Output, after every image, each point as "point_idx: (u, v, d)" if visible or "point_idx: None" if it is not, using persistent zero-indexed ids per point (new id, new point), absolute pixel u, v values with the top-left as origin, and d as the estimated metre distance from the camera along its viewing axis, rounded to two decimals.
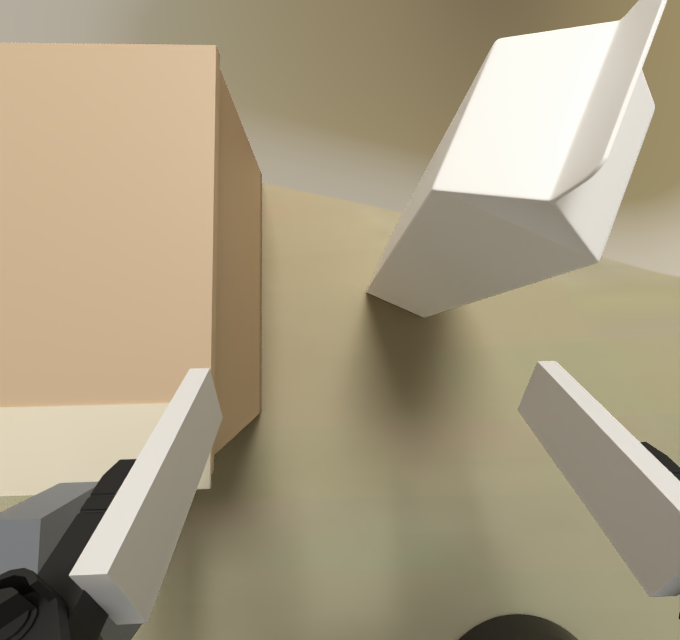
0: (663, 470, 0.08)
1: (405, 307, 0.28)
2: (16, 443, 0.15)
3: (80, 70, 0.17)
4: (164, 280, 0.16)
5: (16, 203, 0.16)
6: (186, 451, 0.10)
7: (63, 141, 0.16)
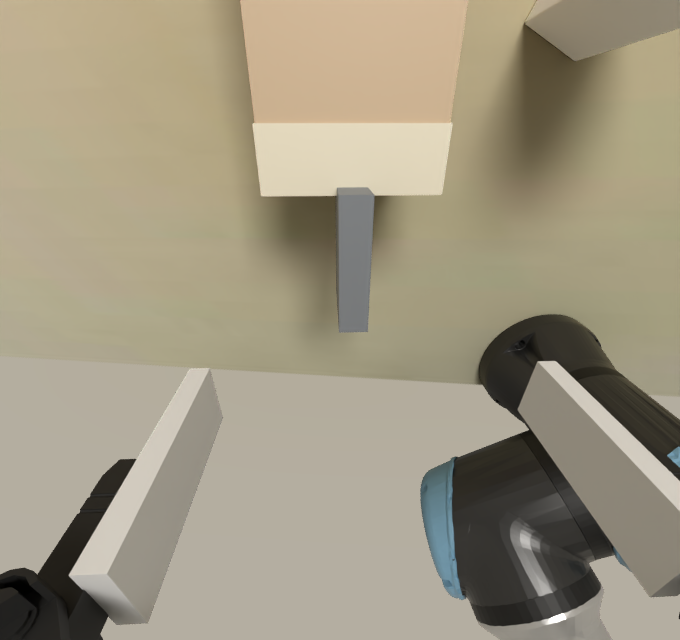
0: (663, 470, 0.08)
1: (564, 45, 0.26)
2: (300, 155, 0.19)
3: None
4: None
5: None
6: (186, 451, 0.10)
7: None
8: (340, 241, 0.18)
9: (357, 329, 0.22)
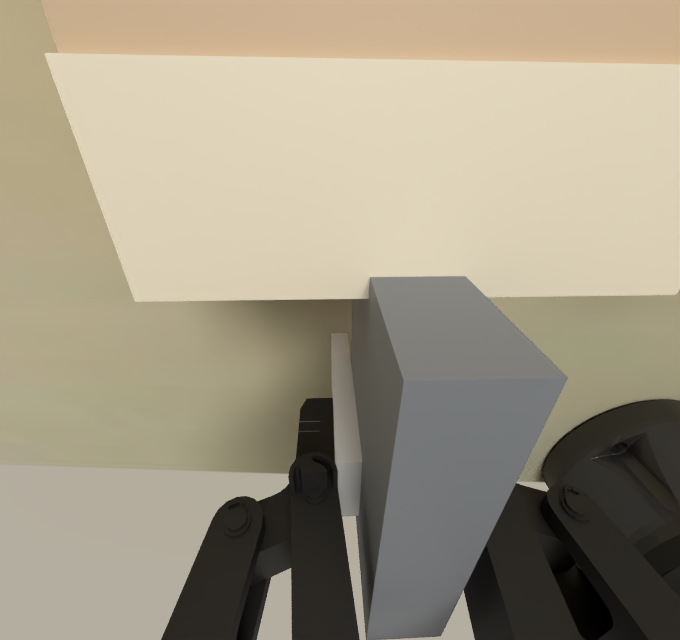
0: None
1: None
2: (249, 180, 0.06)
3: None
4: None
5: None
6: None
7: None
8: (392, 505, 0.05)
9: (415, 634, 0.08)
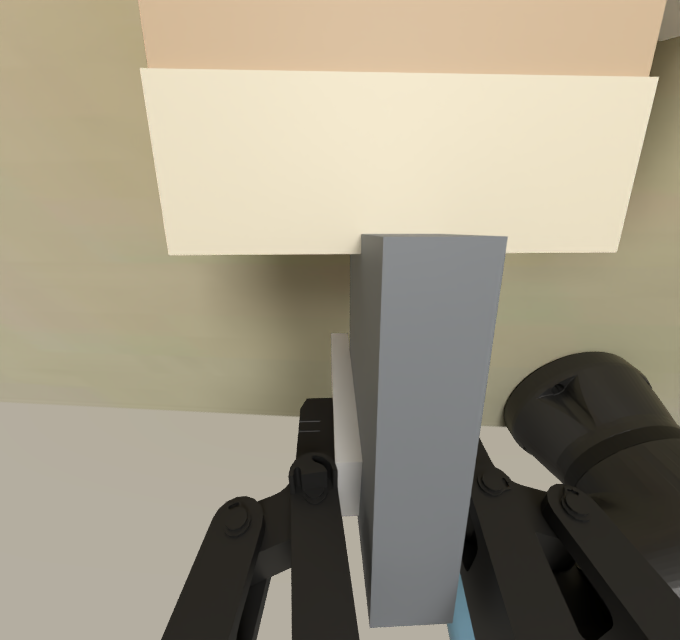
0: None
1: None
2: (269, 156, 0.07)
3: None
4: None
5: None
6: None
7: None
8: (384, 385, 0.06)
9: (423, 618, 0.07)
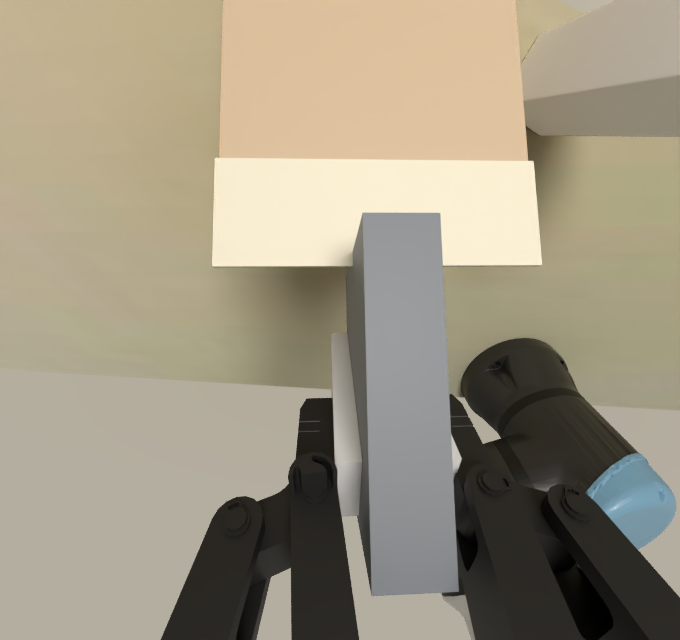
0: None
1: (529, 125, 0.31)
2: (289, 204, 0.11)
3: None
4: (458, 18, 0.12)
5: None
6: None
7: None
8: (369, 313, 0.08)
9: (427, 583, 0.07)
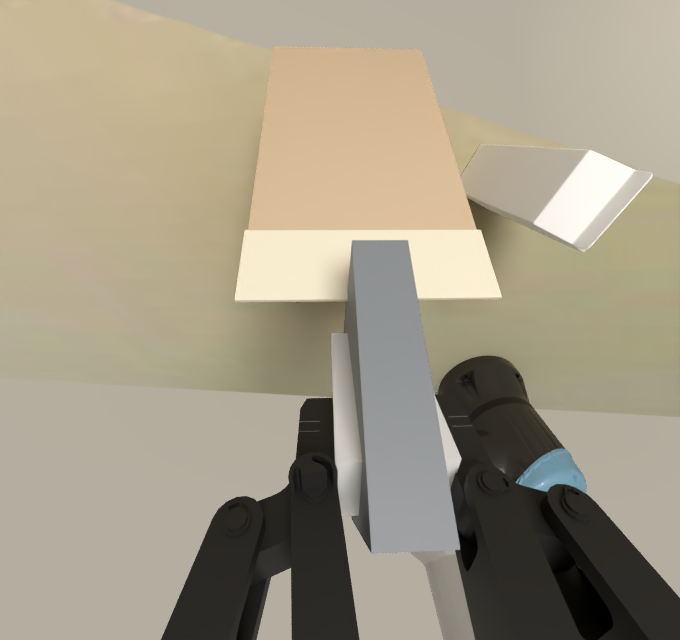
0: None
1: None
2: (298, 259, 0.15)
3: (331, 57, 0.24)
4: (414, 154, 0.19)
5: (291, 113, 0.20)
6: None
7: (323, 86, 0.22)
8: (359, 303, 0.10)
9: (427, 539, 0.07)
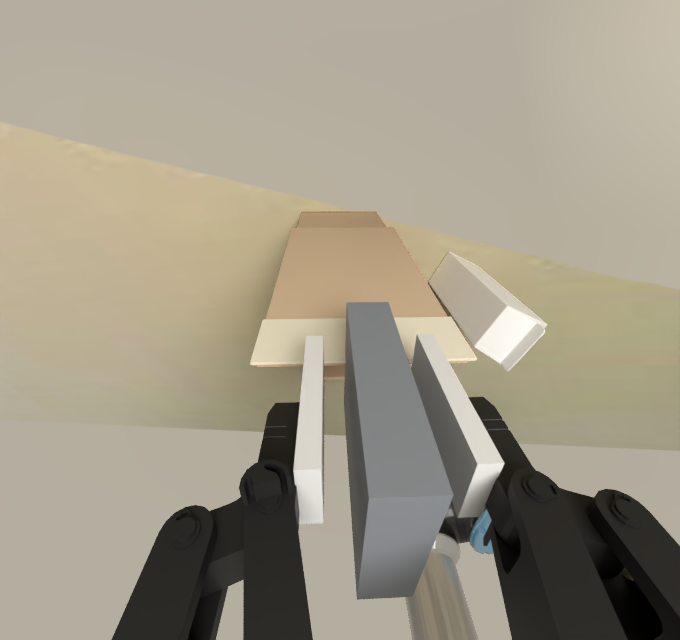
0: (472, 413, 0.10)
1: None
2: (304, 337, 0.18)
3: (332, 232, 0.34)
4: (394, 277, 0.25)
5: (302, 258, 0.28)
6: None
7: (326, 244, 0.31)
8: (352, 334, 0.13)
9: (421, 487, 0.07)
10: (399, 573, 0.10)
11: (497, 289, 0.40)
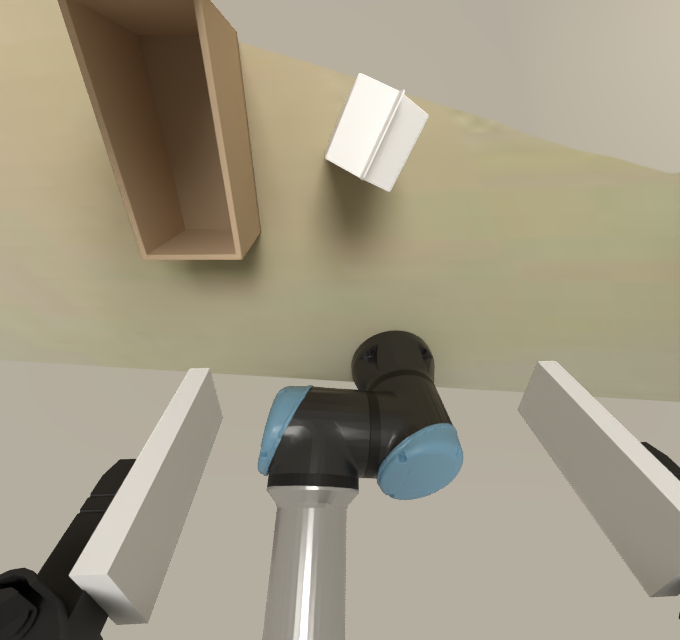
0: (663, 470, 0.08)
1: None
2: None
3: None
4: None
5: None
6: (186, 451, 0.10)
7: None
8: None
9: None
10: None
11: None
